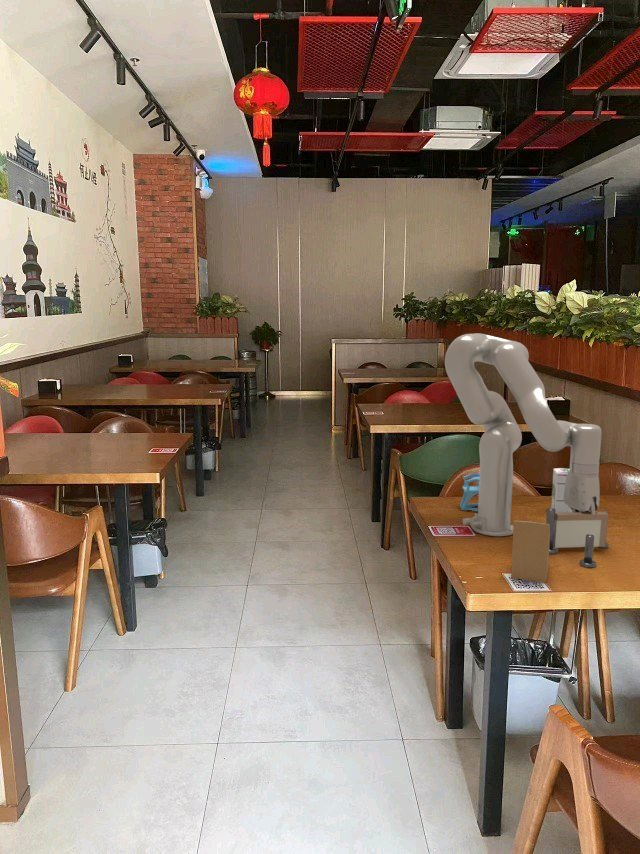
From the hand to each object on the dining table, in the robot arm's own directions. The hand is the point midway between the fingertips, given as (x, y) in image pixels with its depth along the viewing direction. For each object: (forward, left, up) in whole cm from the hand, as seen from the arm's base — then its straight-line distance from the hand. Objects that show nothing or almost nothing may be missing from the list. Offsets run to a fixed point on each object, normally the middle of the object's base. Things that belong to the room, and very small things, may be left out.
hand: (579, 531), depth 183 cm
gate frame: (-3, -8, -4) cm, 9 cm away
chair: (-13, +38, -4) cm, 40 cm away
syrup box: (+13, +27, -4) cm, 30 cm away
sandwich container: (-23, -12, -4) cm, 26 cm away
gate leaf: (-3, -4, -3) cm, 5 cm away
